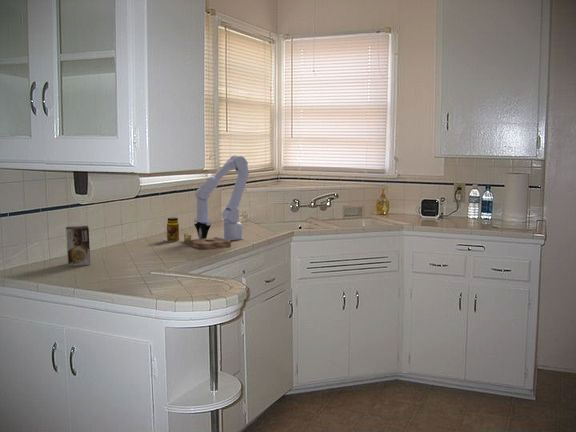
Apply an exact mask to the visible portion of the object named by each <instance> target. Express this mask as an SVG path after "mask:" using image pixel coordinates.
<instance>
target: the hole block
mask: <svg viewBox="0 0 576 432" xmlns="http://www.w3.org/2000/svg"><path fill="white" fill-rule="evenodd" d="M221 238H222V237H218V236H215V237H207V238H204V239H199V238H197V239H191V240H189V242H188V246H191V247H192V248H193V247H194V248H197V249H200V250H209V249H219V247H220V248H225V247H226V246H228V247H231V246H232V240H230V241H228V240H225V239H221ZM226 248H227V247H226Z"/></svg>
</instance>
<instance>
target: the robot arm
mask: <svg viewBox="0 0 576 432" xmlns="http://www.w3.org/2000/svg"><path fill="white" fill-rule="evenodd" d="M248 164H249V162H248V161H247V159H246V158H245V157H244V156H242V155H232V156H231V157H230V158H228V159H227V160H226V162H225V163H224V164H223V165H222V166H221V167H220V169H219V170H218V171H217V173H215V175H213V176H210V177H207V178H206V181H205V182H204V183H203V184H201V185H200V187H198V188H197V189H196V191H195V192H194V195H195V197H196V217H194V218H193V222H194V224H193V225H194V227H195V228H196V232H197V236H198V238H199V228H201V232H202V238H208V234H209V230H210V228H211V226H212V222H211V221H210V220H209V200H208V199H209V198H210V194H212V192H213V191H214V190H215V189H216V188H217V187H218V186H219V184H220V183H219V182H220V180H222V178H224V176H226V175H227V174H228V173H229V171H233V170H235V172H236V173H237V178H236V181H235V183H234V187H233V190H232V192H231V193H232V194H231V196H230V200H229V202H228V204H226V206H225V209H224V210H223V212H222V214H221V216H222V219H223V237H220V238H221V239H225V240H228V241H236V240H237V241H238V240H243V239H244V238H243V225H242V223H241V222H240V221H238V220H239V219H240V207H239V206H240V204H241V203H240V202H241V200H242V196H243V194H244V190H245V188H246V184H247V181H248V178H249V175H250V173H249V168H248V167H249V166H248Z"/></svg>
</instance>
